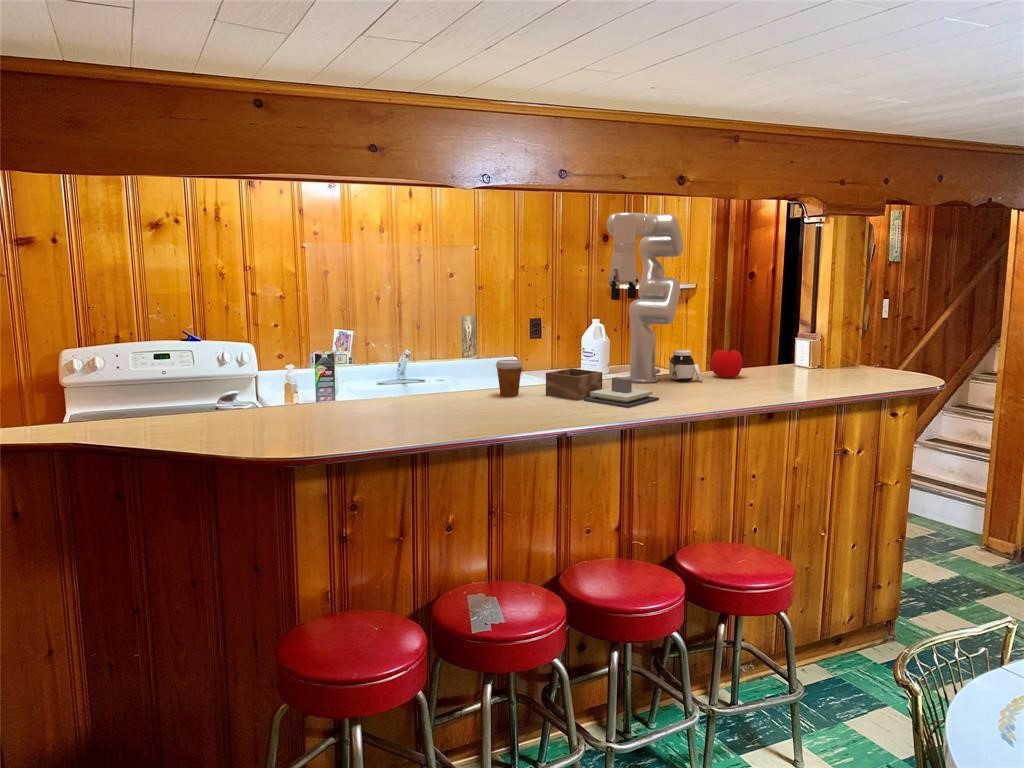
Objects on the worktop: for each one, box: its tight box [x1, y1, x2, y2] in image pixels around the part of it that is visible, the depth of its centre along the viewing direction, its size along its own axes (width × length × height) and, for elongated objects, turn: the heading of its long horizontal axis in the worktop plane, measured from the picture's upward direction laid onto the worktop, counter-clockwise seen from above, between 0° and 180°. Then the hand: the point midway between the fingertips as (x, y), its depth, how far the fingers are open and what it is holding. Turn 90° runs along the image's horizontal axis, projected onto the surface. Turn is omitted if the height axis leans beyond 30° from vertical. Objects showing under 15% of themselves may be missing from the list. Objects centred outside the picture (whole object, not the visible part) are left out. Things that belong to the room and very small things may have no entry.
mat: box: [583, 395, 660, 409], centre depth 247 cm, size 18×18×1 cm
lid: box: [590, 376, 654, 402], centre depth 247 cm, size 15×15×7 cm
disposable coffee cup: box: [495, 359, 523, 398], centre depth 257 cm, size 10×10×12 cm
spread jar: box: [668, 349, 703, 383], centre depth 284 cm, size 12×11×12 cm
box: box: [545, 367, 603, 401], centre depth 257 cm, size 14×14×8 cm
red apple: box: [710, 348, 743, 379], centre depth 292 cm, size 12×13×12 cm
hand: (623, 299), depth 257 cm, fingers open, 9 cm apart
